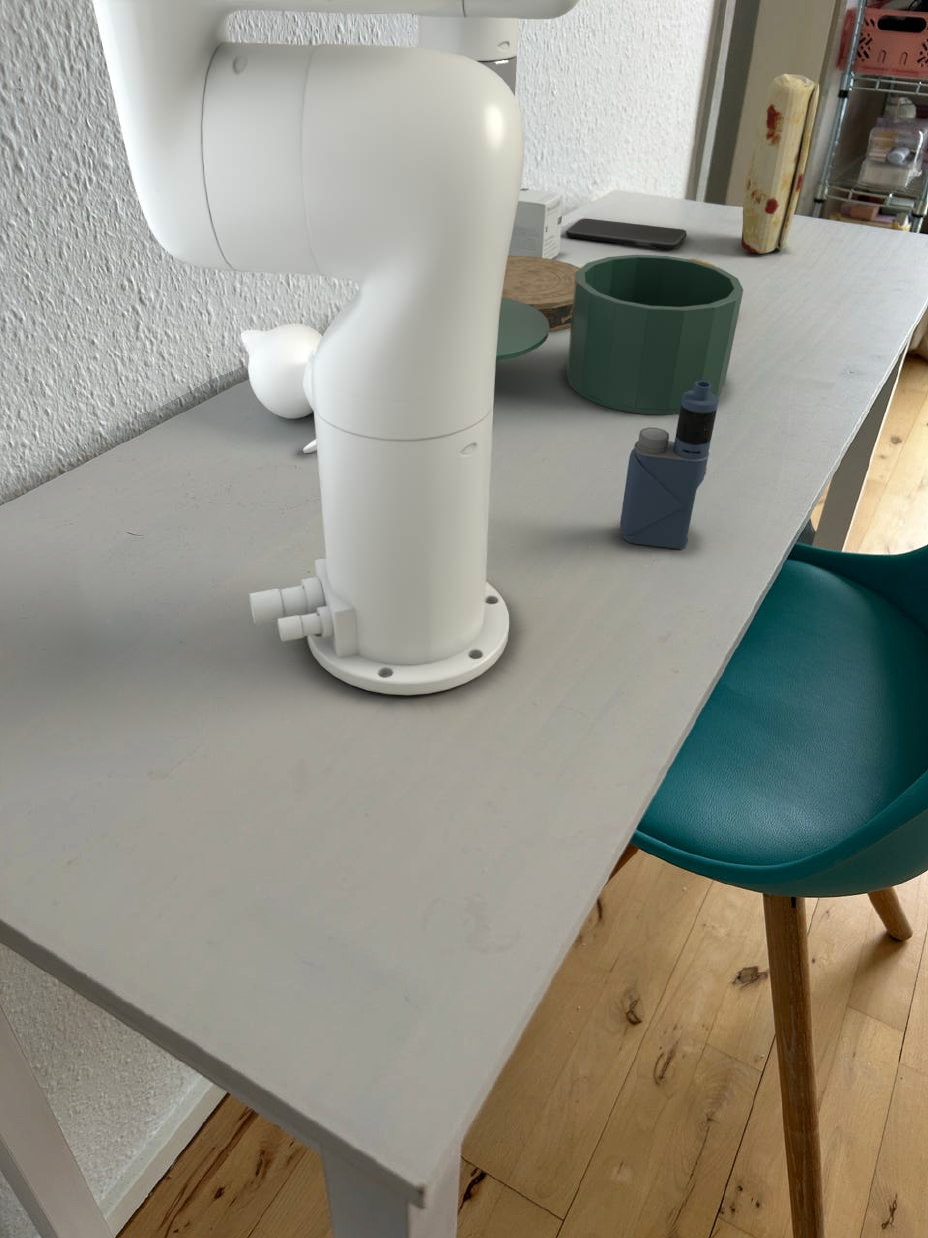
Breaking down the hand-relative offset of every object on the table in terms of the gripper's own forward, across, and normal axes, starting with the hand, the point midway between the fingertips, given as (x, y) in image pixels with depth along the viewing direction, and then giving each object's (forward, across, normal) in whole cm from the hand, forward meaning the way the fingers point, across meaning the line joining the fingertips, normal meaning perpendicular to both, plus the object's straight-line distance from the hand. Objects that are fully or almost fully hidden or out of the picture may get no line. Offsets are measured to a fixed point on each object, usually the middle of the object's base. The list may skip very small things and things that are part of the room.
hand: (462, 312), depth 85 cm
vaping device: (+7, +29, +5) cm, 30 cm away
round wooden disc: (+7, -18, +13) cm, 23 cm away
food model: (+7, -29, +51) cm, 59 cm away
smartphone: (+7, -38, +36) cm, 53 cm away
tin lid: (+1, 0, 0) cm, 1 cm away
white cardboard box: (+7, -34, +20) cm, 40 cm away
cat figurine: (+7, +4, -15) cm, 17 cm away
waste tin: (+7, +4, +17) cm, 19 cm away
